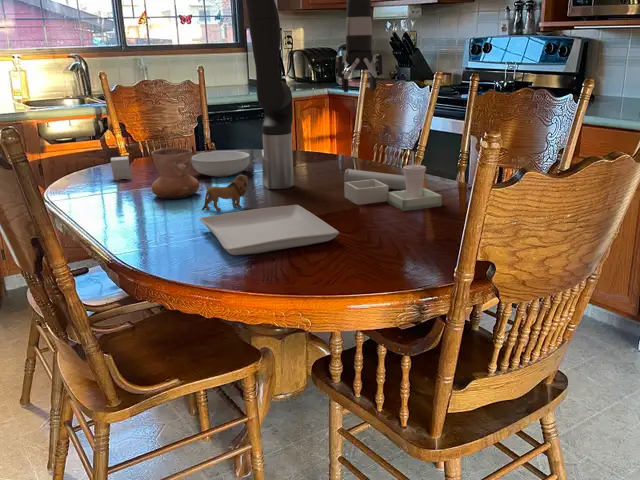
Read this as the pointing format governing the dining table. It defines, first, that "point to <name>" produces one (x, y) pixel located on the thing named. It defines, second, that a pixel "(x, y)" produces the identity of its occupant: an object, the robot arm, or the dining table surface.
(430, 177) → the dining table surface
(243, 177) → the lion figurine
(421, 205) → the tray
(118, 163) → the skincare box
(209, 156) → the serving bowl
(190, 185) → the ceramic jug
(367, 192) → the hollow square frame
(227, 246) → the square plate
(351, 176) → the tube
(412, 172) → the smoothie
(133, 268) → the dining table surface
